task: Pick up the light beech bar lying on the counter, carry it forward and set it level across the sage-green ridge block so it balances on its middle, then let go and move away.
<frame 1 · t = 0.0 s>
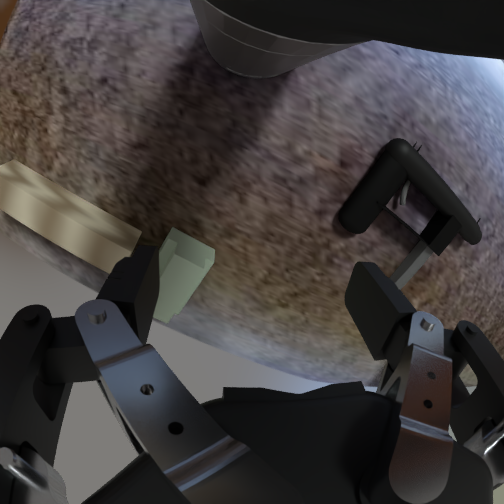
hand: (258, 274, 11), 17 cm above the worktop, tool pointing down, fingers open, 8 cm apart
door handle: (408, 226, 32), on the worktop
bar: (67, 205, 26), on the worktop
ridge: (176, 266, 31), on the worktop
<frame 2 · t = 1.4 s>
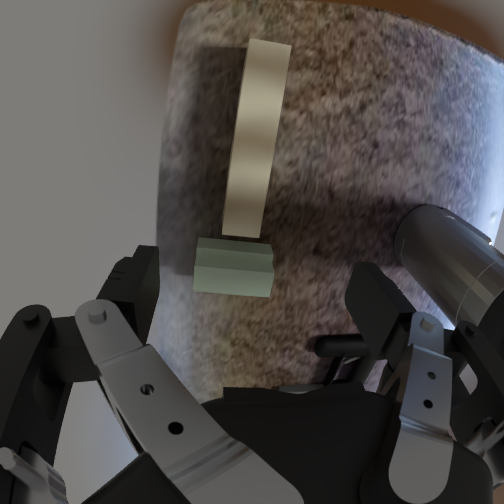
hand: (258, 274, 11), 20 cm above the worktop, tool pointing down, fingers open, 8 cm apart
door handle: (326, 372, 46), on the worktop
bar: (250, 135, 27), on the worktop
ridge: (232, 260, 33), on the worktop
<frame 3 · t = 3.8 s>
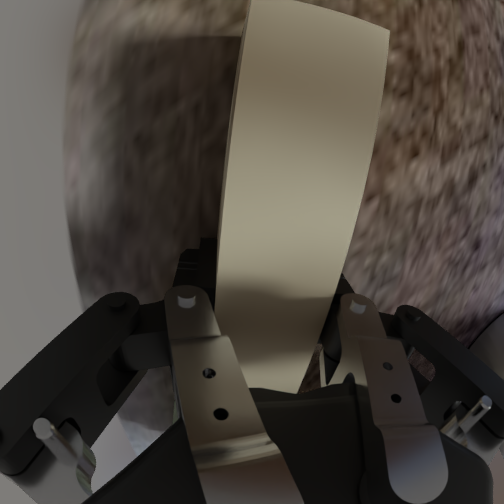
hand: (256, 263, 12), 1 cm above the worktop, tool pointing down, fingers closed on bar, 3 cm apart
bar: (256, 256, 13), on the worktop, touching gripper
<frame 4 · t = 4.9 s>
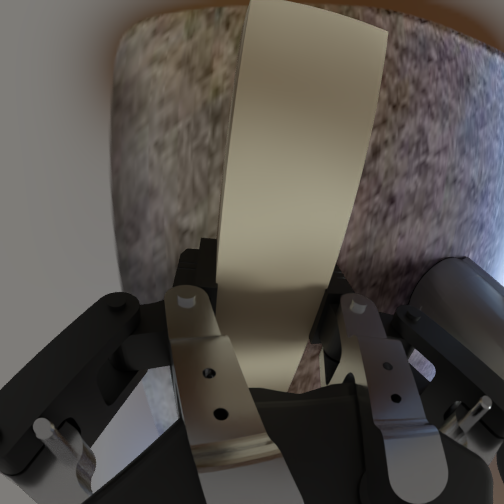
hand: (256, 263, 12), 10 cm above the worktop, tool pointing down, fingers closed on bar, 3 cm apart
bar: (255, 244, 13), point 8 cm above the worktop, touching gripper
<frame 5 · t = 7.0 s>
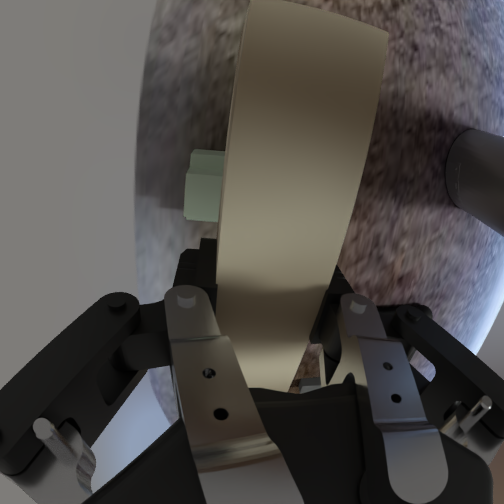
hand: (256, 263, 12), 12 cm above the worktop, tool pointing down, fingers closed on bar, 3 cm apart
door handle: (359, 358, 36), on the worktop
bar: (255, 245, 13), point 11 cm above the worktop, touching gripper
ridge: (241, 183, 23), on the worktop
when the fingers open (6 cm above the worktop, at t = 8.3 s): bar stays where it is, resting on ridge.
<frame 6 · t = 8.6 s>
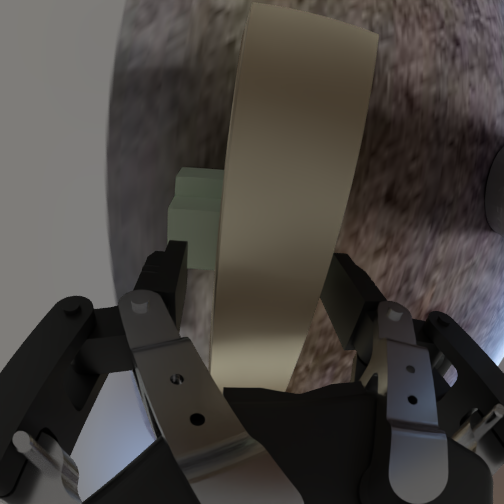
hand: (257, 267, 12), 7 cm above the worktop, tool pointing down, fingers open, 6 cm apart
bar: (255, 241, 14), point 5 cm above the worktop, touching ridge
ridge: (245, 212, 18), on the worktop
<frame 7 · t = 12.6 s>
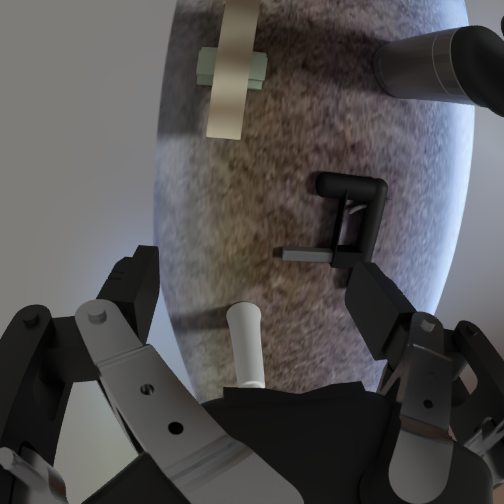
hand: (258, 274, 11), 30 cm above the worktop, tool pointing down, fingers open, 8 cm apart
cosmetic bottle: (243, 314, 51), on the worktop
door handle: (332, 232, 45), on the worktop
bar: (232, 63, 28), point 4 cm above the worktop, touching ridge
ridge: (231, 69, 32), on the worktop
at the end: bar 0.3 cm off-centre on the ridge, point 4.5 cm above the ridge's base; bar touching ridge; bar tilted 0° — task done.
